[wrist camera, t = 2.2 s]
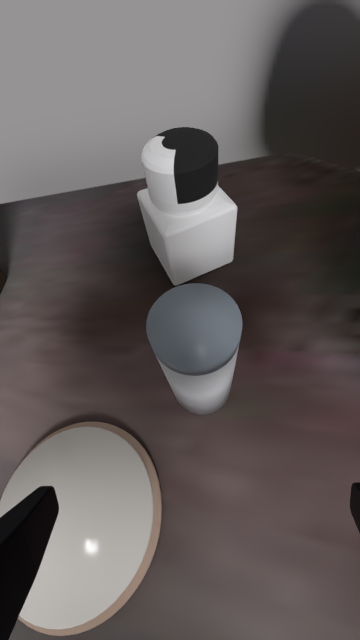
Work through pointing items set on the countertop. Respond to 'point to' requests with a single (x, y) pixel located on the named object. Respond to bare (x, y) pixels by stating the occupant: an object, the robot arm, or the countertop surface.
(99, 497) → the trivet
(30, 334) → the countertop surface
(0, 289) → the beer bottle
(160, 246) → the medicine bottle
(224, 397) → the grey-topped white cylinder
